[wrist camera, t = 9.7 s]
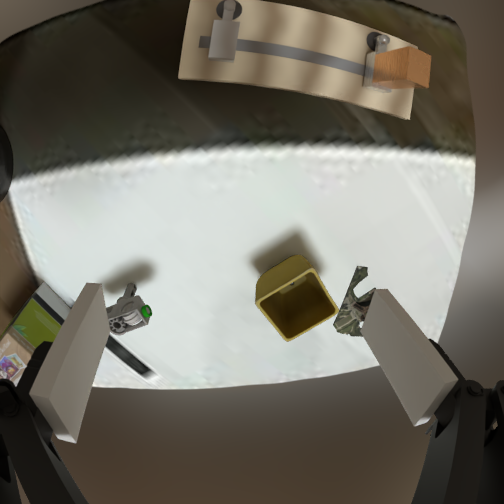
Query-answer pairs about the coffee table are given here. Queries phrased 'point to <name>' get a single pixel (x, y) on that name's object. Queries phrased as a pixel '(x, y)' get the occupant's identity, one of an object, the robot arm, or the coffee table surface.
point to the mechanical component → (128, 312)
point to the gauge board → (286, 52)
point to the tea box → (30, 331)
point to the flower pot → (294, 297)
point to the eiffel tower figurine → (354, 307)
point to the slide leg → (396, 67)
